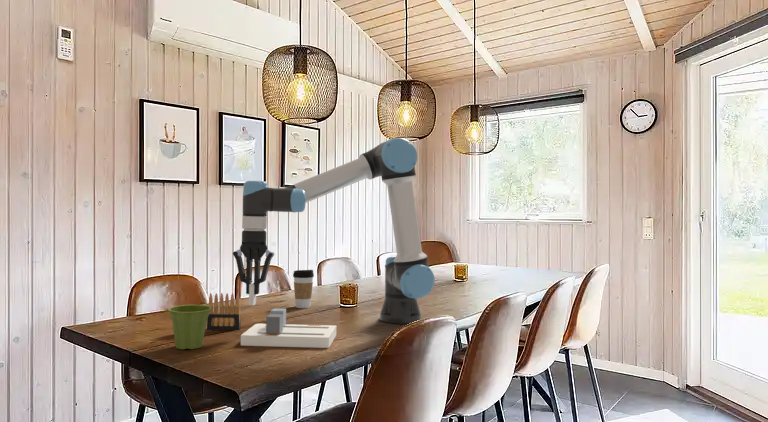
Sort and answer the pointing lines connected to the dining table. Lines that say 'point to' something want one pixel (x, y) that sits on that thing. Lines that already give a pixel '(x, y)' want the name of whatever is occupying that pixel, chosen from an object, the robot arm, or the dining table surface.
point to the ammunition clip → (224, 313)
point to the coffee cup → (303, 287)
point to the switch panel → (290, 336)
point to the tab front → (274, 323)
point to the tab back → (280, 311)
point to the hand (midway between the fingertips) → (252, 304)
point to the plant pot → (189, 325)
